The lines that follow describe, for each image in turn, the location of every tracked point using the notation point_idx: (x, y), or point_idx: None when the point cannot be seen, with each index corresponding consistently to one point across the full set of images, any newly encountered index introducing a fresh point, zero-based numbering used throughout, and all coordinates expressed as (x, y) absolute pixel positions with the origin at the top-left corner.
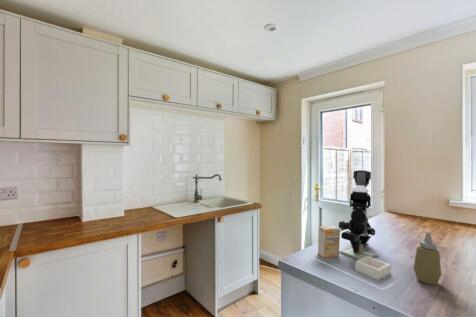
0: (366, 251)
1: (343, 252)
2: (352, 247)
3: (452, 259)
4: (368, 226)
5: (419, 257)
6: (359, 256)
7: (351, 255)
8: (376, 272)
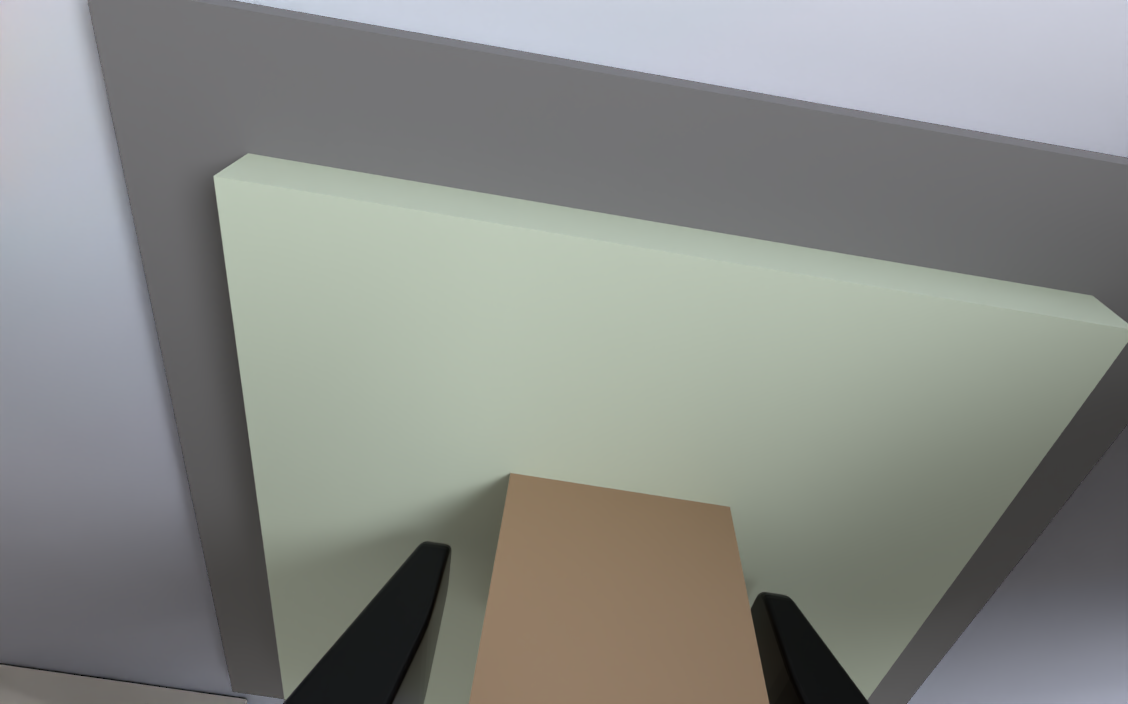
0: (890, 660)
1: (235, 242)
2: (308, 676)
3: None
4: None
5: None
6: None
7: (265, 487)
8: None
